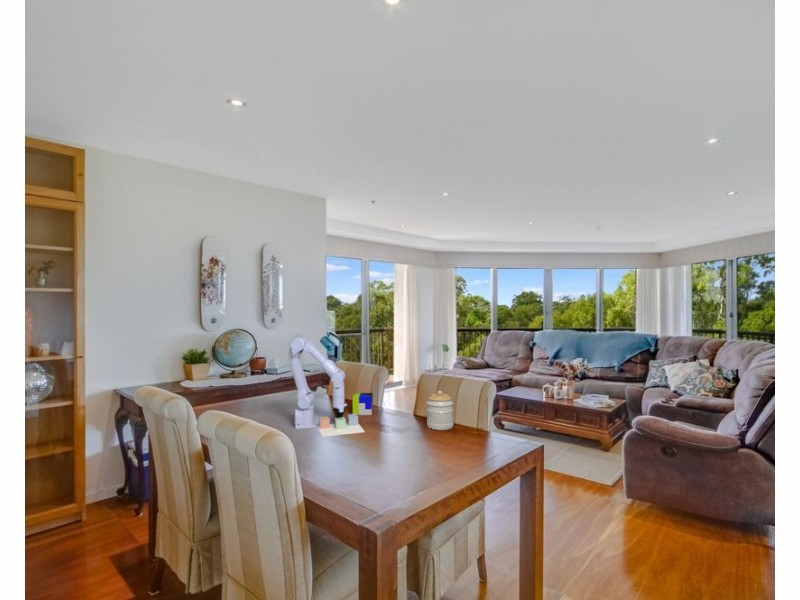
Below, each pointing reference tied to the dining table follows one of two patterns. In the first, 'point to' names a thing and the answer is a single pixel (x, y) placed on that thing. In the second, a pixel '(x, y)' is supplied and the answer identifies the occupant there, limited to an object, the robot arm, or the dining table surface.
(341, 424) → the sage block
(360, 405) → the puzzle toy
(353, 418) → the slate block
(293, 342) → the robot arm
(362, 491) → the dining table surface
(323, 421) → the terracotta block
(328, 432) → the mat
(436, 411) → the jar
